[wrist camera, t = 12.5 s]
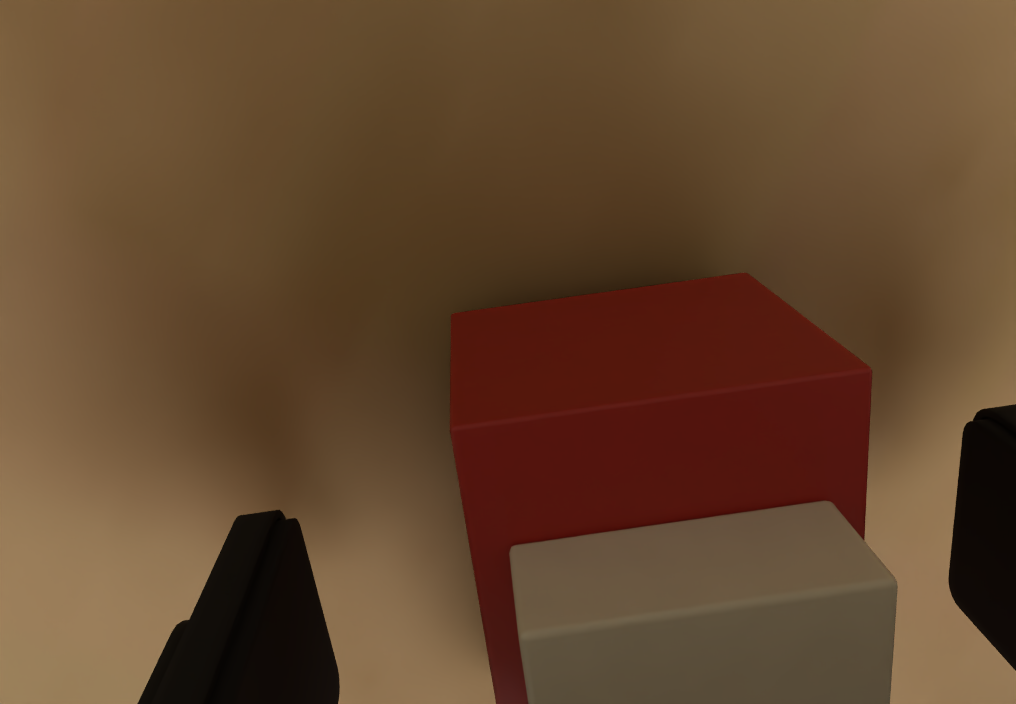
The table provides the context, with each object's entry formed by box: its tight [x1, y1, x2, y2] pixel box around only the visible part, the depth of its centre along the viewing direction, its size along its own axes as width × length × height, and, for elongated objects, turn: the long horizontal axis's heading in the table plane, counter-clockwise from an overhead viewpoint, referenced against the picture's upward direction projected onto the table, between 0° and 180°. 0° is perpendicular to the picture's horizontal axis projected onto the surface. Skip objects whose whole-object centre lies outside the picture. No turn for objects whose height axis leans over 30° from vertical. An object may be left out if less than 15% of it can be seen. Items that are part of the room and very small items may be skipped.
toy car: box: [450, 273, 898, 704], centre depth 11 cm, size 8×4×6 cm, turn 7°
